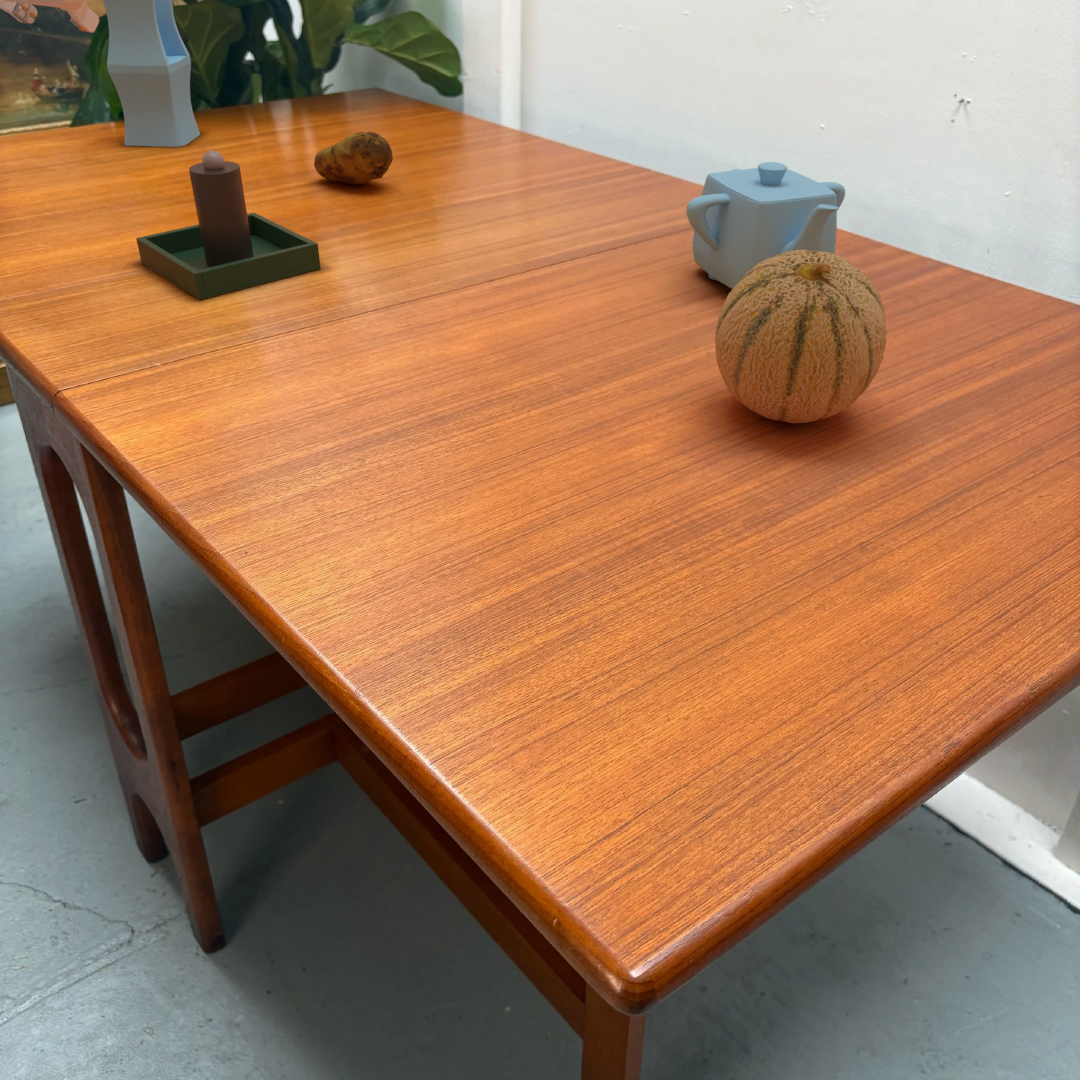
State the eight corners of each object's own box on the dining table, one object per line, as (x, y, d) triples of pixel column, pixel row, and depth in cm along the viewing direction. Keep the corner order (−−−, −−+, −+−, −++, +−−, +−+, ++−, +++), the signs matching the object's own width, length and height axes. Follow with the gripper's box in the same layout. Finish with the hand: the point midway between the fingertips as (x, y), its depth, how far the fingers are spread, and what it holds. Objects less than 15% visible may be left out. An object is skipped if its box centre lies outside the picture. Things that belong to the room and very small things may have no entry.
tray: (199, 300, 114) (194, 273, 112) (141, 263, 123) (135, 237, 122) (320, 268, 122) (317, 243, 120) (257, 236, 132) (254, 212, 130)
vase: (182, 147, 168) (150, -25, 154) (124, 145, 169) (87, -26, 154) (203, 132, 176) (174, -32, 162) (147, 131, 177) (114, -34, 162)
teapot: (662, 291, 117) (672, 170, 109) (716, 249, 129) (728, 138, 121) (817, 324, 110) (839, 197, 102) (859, 276, 121) (882, 160, 114)
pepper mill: (219, 273, 119) (199, 160, 112) (198, 260, 123) (177, 149, 115) (262, 262, 122) (245, 151, 115) (240, 250, 126) (222, 142, 118)
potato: (358, 171, 157) (353, 116, 152) (403, 191, 149) (399, 133, 144) (310, 180, 153) (303, 124, 148) (354, 201, 144) (348, 142, 140)
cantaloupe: (808, 366, 101) (834, 214, 92) (904, 433, 90) (944, 268, 81) (676, 391, 96) (690, 234, 87) (761, 465, 85) (787, 293, 76)
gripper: (-146, -63, 93) (-17, 39, 106) (-9, -51, 85) (115, 59, 97) (-116, -123, 94) (9, -14, 106) (23, -116, 85) (142, 2, 98)
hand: (61, 21), depth 102 cm, fingers open, 8 cm apart
